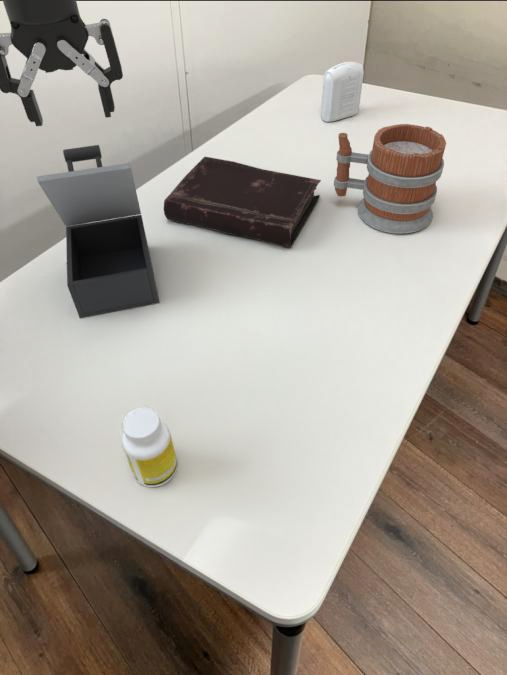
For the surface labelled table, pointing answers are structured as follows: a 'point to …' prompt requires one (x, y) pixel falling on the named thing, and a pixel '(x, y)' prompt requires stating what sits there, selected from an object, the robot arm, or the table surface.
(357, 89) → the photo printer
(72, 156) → the lid
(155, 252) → the table surface
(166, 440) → the supplement bottle
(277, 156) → the table surface
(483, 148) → the table surface
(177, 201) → the diary
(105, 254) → the dark grey open box
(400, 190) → the mug
